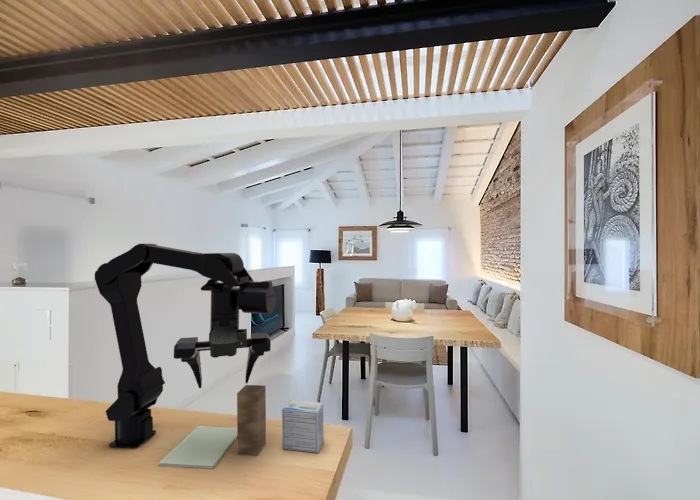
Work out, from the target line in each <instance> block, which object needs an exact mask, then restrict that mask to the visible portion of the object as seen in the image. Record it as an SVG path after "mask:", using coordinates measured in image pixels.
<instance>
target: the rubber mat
mask: <svg viewBox="0 0 700 500" xmlns="http://www.w3.org/2000/svg"><path fill="white" fill-rule="evenodd" d="M237 440H238V439H237V427H223V426H222V427H221V426H202V425H201V426H200V425H197V426H195V428H194V429H193V430H192V431H191V432H190V433H189V434H188V435H187V436H186V437H184V439H183V440H181V441H180V442H179V444H177V445H176V446H175V447H174V448H173V449H172V450H171V451H170V452H169V453H168V454H166V456H165V457H163V458H162V459H161V460H160V461H159V462H158V466H159V467H175V468H176V467H178V468H194V469H195V468H196V469H208V470H209V469H211V470H213V469H214V468H215V466H216V465H217V464H218V463H219V462H220V460H221V459H222V457H224V455H225V454H227V453H226V452H227V451H228V450H229V449H230V447H231V446H232V445H233V444H234V442H235V441H237Z"/></svg>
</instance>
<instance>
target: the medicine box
mask: <svg viewBox="0 0 700 500" xmlns="http://www.w3.org/2000/svg"><path fill="white" fill-rule="evenodd" d="M281 415H282V416H281V422H282V423H281V425H282V426H281V431H282V449H283V450H286V451H287V450H289V451H297V452H298V451H299V452H307V453H317V454H318V453H319V452H320V450H321V449H322V446H323V444H324V441H325V437H324V436H325V431H324V429H325V428H324V427H325V426H324V402H317V401H306V400H305V401H303V400H302V401H301V400H292V399H291V400H289V401H288V402H287V403H285V405H284V406H283V408H282V409H281Z"/></svg>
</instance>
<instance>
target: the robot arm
mask: <svg viewBox="0 0 700 500" xmlns="http://www.w3.org/2000/svg"><path fill="white" fill-rule="evenodd" d="M243 260H244V259H242V257H241V256H240V255H239V254H238V253H235V252H213V253H211V252H209V253H205V252H204V253H202V252H197V251H191V250H185V249H180V248H176V247H175V248H174V247H167V246H162V245H157V244H156V243H137V244H136V245H134V246H133V247H131V248H130V249H129V250H128V251H125V252H124V253H122V254H120V255H117V256H116V257H114V258H112V259H110V260H109V261H108V262H104V263H102V264H100V265H99V266H98V267H97V270H95V271H94V281H95V283H96V286H97V288H98V293H99V294H100V296H102V298H104V300H105V301H106V302H107V303H108V304H109V306H110V310H111V315H112V321H113V324H114V325H113V326H114V329H115V336H116V340H117V345H118V351H119V357H120V362H121V367H122V370H121V373H120V377H119V379H118V383H117V399H116V400H115V401H114V402H113V403H112V404H110V406H109V407H107V409H106V410H105V414H106V417H107V420H108V421H110V422H114V440H113V441H112V442H111V443H109V444H108V447H109V448H120V449H121V448H124V449H137V448H139V447H140V446H142V445H143V444H144V443H146V441H148V440H149V439H150V438H152V437H153V436H155V434H156V433H157V430H154V418H153V416H152V409H151V408H150V407H152V406H154V405H156V404H157V401H158V398H159V397H160V396H161V394H162V393H163V390H164V385H165V384H166V381H165V379H164V377H163V370H162V367H161V366H158V367H154V366H153V364H151V362H150V360H149V356H148V349H147V344H146V341H145V340H146V339H145V335H144V329H143V325H142V321H141V314H140V310H139V305H138V296H139V295H140V291H141V289H142V277H143V276H144V275H145V274H147V272H149V271H150V269H151V268H152V266H153V265H154V264H156V265H161V266H166V267H172V268H178V269H184V270H190V271H193V272H195V273H198V274H199V275H200V276H202V277H205V278H207V279H208V280H207V282H205V284H203V285H202V286H201V287H200V290H201V291H207V292H210V329H209V334H208V340H205V341H199V337H198V336H195V337H194V336H193V337H179V339H178V340H177V341H176V343H175V344H174V347H173V359H175V360H176V359H177V360H178V359H180V361H181V363H187V364H188V365H189V367H190V368H191V371H192V372H193V375H194V378H195V381H196V384H197V387H198V388H199V389H202V386H203V377H202V376H203V375H202V366H201V365H202V363H201V362H202V361H201V354H200V353H201V352H202V351H203V352H206V351H210V352H209V354H210V357H211V358H213V359H216V358H219V357H234V356H235V355H237V351H238V350H237V349H246V348H247V349H248V353H247V354H248V355H247V361H246V369H245V377H244V379H245V381H244V382H245V384H248V383H249V380H250V377H251V374H252V371H253V369H254V366H255V364H256V362H257V361H258V359H259V357H263V356H264V355H265V353H266V352H271V345H272V343H271V338H270V335H269V334H267V332H260V333H250V338H249V337H248V335H247V334H248V330H247V328H240V311H242V313H245V314H263V315H264V314H267V315H272V313H273V312H274V310H275V307H276V303H277V301H276V300H277V296H276V295H277V294H275V293H276V292H275V289H274V287H273V281H272V280H263V281H254V279H253V278H252V276H251V275H250V273H249V272H248V270H247V269H246V268H245V266H244V265H245V264H244V261H243Z"/></svg>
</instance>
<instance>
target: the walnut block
mask: <svg viewBox="0 0 700 500" xmlns="http://www.w3.org/2000/svg"><path fill="white" fill-rule="evenodd" d="M266 397H267V396H266V385H260V384H259V385H257V384H256V385H254V384H245V385H244V386H243V387H242V388H241V389H240V390H239V391H238V392H236V402H237V403H236V405H237V407H236V409H237V410H236V412H237V413H236V414H237V415H236V417H237V418H236V419H237V421H236V422H237V423H236V428H237V439H236V440H237V455H239V456H256V457H257V456H260V454H261V453H262V451H263V449H264V447H265V446H266V444H267V429H266V428H267V419H266V418H267V415H266V411H267V409H266V406H267V405H266V401H267V400H266Z"/></svg>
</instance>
